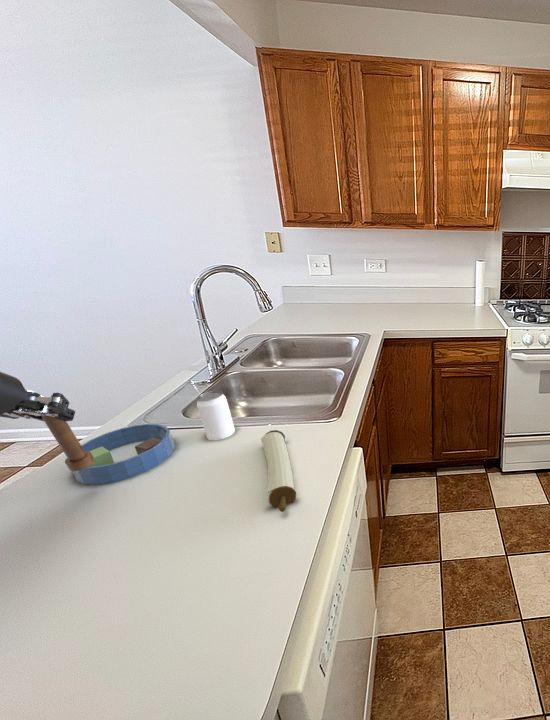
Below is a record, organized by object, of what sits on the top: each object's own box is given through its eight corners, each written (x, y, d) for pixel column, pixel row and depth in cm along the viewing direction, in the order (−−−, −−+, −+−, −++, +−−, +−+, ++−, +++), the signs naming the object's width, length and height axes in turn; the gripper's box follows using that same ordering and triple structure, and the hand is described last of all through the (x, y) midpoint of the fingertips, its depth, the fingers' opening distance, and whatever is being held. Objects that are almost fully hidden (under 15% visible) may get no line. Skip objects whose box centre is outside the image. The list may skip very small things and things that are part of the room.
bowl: (55, 493, 85) (46, 474, 83) (106, 446, 101) (98, 429, 99) (154, 479, 89) (147, 460, 87) (187, 436, 106) (181, 419, 104)
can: (233, 426, 110) (222, 387, 106) (237, 436, 105) (226, 396, 101) (205, 434, 106) (193, 394, 102) (209, 445, 102) (196, 403, 97)
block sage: (93, 474, 90) (87, 460, 88) (86, 469, 92) (79, 454, 90) (115, 465, 93) (109, 451, 91) (108, 460, 95) (102, 446, 93)
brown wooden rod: (65, 473, 80) (25, 412, 73) (74, 460, 83) (37, 401, 76) (89, 468, 81) (53, 408, 74) (98, 455, 84) (64, 397, 77)
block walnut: (151, 463, 94) (146, 449, 92) (139, 460, 95) (134, 446, 93) (168, 453, 97) (163, 439, 96) (156, 451, 98) (151, 437, 97)
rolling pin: (300, 515, 79) (296, 495, 77) (269, 525, 76) (263, 504, 75) (286, 437, 105) (283, 420, 103) (263, 442, 103) (259, 426, 101)
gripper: (27, 363, 65) (107, 396, 81) (-73, 368, 63) (28, 401, 79) (12, 407, 62) (97, 432, 78) (-94, 414, 60) (15, 438, 76)
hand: (62, 416), depth 78 cm, fingers closed on brown wooden rod, 2 cm apart
